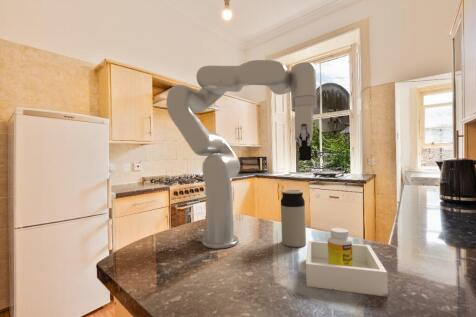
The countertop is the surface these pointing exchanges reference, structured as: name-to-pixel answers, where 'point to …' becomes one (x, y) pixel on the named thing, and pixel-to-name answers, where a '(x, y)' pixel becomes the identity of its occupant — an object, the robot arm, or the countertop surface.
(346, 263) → the supplement bottle
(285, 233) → the travel mug
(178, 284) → the countertop surface
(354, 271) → the bin
